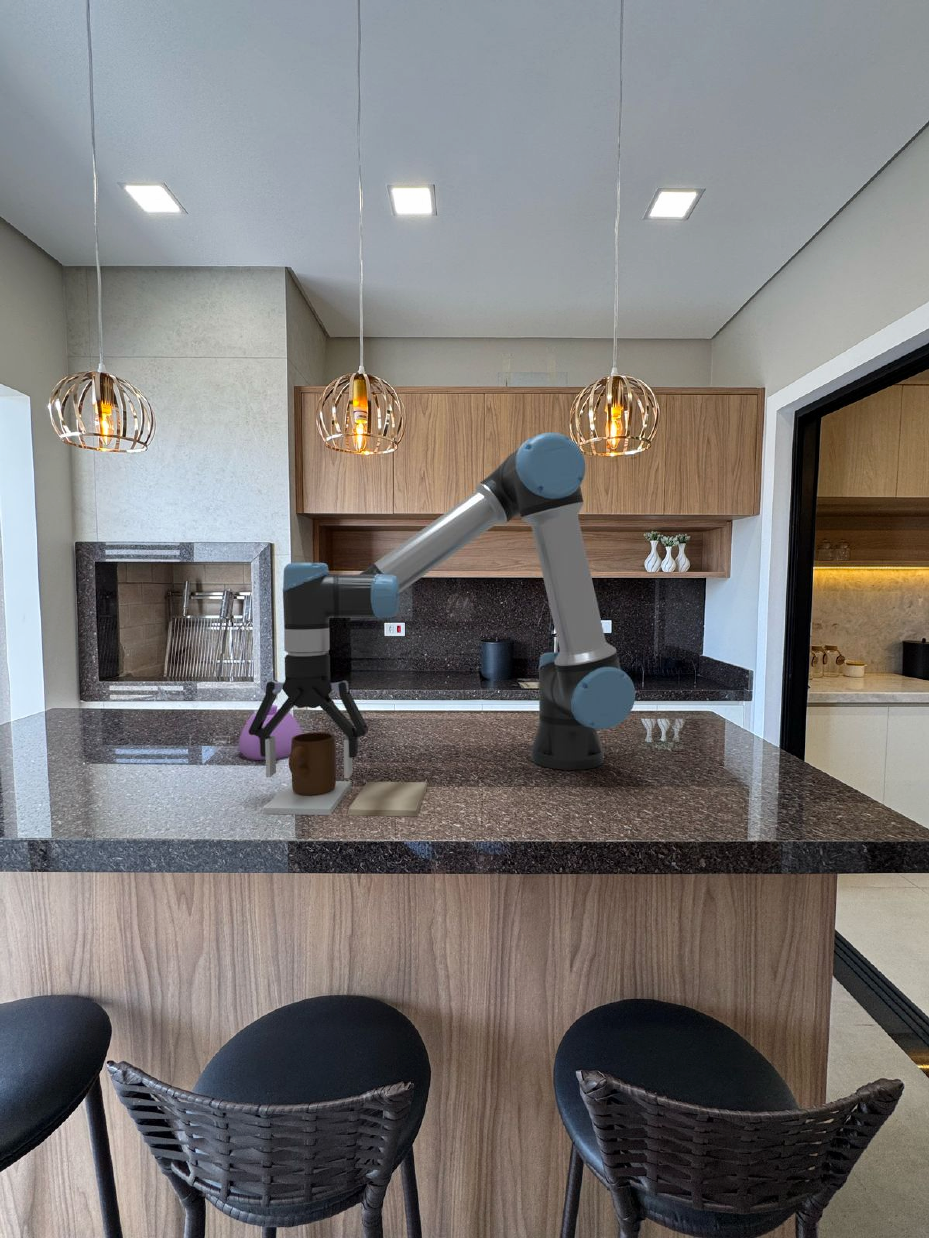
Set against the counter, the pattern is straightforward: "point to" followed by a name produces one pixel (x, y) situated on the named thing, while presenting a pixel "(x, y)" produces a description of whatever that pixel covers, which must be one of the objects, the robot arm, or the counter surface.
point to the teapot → (282, 733)
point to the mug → (313, 763)
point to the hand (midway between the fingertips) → (309, 775)
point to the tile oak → (389, 799)
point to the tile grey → (307, 801)
